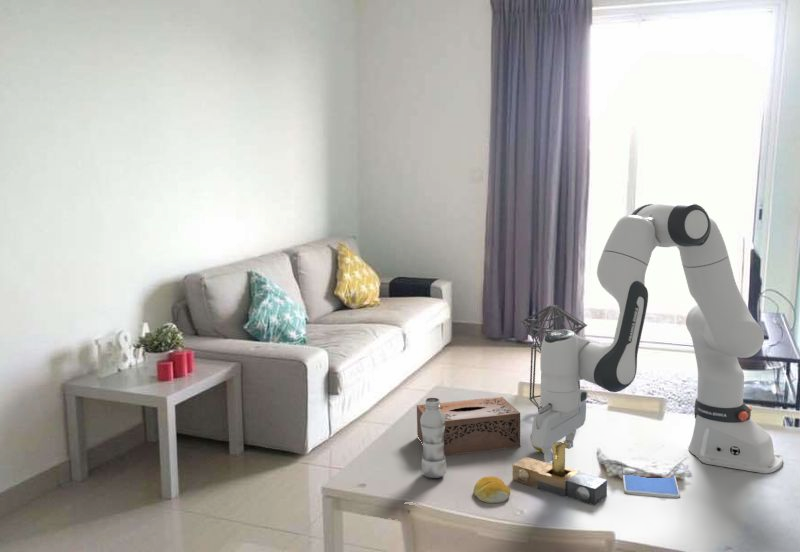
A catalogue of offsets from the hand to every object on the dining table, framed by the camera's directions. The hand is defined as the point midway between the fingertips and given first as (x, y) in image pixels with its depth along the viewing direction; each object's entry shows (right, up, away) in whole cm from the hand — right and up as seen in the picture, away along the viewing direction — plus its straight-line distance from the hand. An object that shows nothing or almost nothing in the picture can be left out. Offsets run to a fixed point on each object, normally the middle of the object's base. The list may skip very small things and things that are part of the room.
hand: (558, 453), depth 175 cm
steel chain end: (+3, -9, -1) cm, 9 cm away
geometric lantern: (+9, -1, +49) cm, 50 cm away
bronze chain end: (-3, -8, +4) cm, 9 cm away
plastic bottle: (-29, -8, +10) cm, 32 cm away
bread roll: (-16, -10, -1) cm, 19 cm away
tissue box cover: (-19, -5, +31) cm, 37 cm away
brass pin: (0, -9, +1) cm, 9 cm away
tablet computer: (+23, -8, +5) cm, 25 cm away
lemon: (0, -5, +22) cm, 23 cm away
